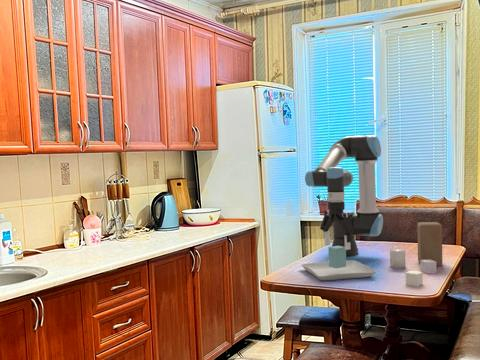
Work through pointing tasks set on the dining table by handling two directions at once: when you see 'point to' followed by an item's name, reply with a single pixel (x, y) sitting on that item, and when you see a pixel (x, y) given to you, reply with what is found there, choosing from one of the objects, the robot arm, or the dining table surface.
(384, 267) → the dining table surface
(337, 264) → the teal block
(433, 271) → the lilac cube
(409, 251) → the dining table surface
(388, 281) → the dining table surface
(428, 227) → the block
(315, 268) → the square plate
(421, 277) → the cream cube
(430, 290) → the dining table surface
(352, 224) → the robot arm
